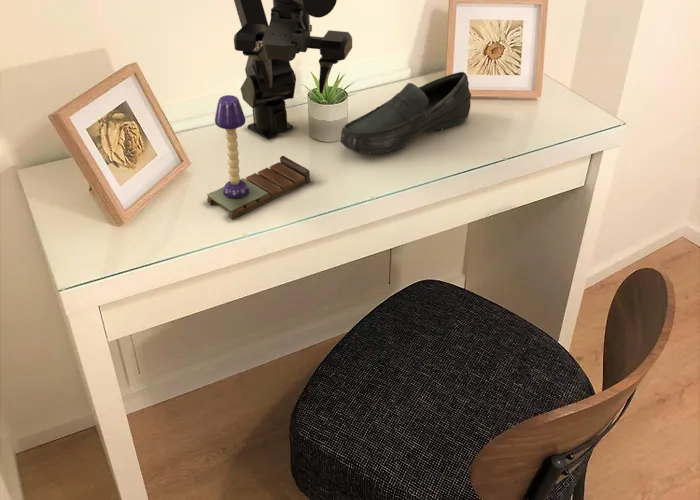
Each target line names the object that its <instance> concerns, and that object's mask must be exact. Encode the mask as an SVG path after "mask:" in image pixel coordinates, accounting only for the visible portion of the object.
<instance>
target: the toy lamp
mask: <svg viewBox="0 0 700 500" xmlns="http://www.w3.org/2000/svg"><path fill="white" fill-rule="evenodd" d="M216 105H217V106H216V111H215V117H214V124H215V125H216V127H218V128H219V129H223V130H225V132H226V133H225V139H226V148H227V154H226V155H227V157H228V158H227V164H228V174H229V175H228V178H229V179H228V180H229V181H227V182H226V183H225V184H224V186H223V187H224V188H223V187H222V188H223V194H224V195H225V196H226V197H228V198H233V199H237V198H242V197H244V196H246V195H247V194H248V193H249V188H248V186H247V184H246V183H245V182H244V181H242V180H240V179H241V177H240V167H239V165H240V159H239V150H238V147H239V144H238V140H237V139H238V134H237V129H239V128H241V127H243V126H244V125H245V123H246V116H245V113H244V111H243V107H242V105H241V103H240V100H239V98H238V97H237V96H235V95H232V94H227V95H223V96H220V97H219V99H218V100H217V104H216Z"/></svg>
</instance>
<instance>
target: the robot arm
mask: <svg viewBox="0 0 700 500" xmlns="http://www.w3.org/2000/svg"><path fill="white" fill-rule="evenodd" d="M337 1H338V0H272V5H273V6H272V8H271V9H270V20H269V21H268V19H267V15H266V11H265V8H264V6H263V1H262V0H233V3H234V5H235V9H236V12H237V16H238V20H239V22H240V27H241V28H240V29H239V30H238V31H237V32H236V33H235V34H234V36H233V46H234V47H233V48H234V50H235V51H236V52H241V53H242V55H243V56H245V57H246V56H247V61H246V64H245V68H244V71H245V75H246V78H245V79H244V81H243V83H242V84H241V86H240V93H241V97H242V100H243V101H244V102H245V103H246V104H247V105H248V106H249V107H250V108H251V109H252V118H253V122H252V123H250V124H248V125H247V129H248V130H250V131H252V132H254V133H255V134H257V135H258V136H260V137H263V138H264V139H266V140H270V139H272V138H274V137H276V136H279V135H282V134H284V133H286V132H288V131H290V130H293V129H294V125H293V124H291V123H289V122H288V113H287V112H288V111H287V108H286V100H292V99H295V98H294V97H295V89H296V84H297V75H296V74H295V73H296V72H295V71H294V69H293V68H292V65H291V63H290V62H292V61H293V60H295V58H296V55H297V54H300V53H306V52H307V51H308V49H311V50H312V49H313V50H319V55H321V57H320V58H319V60H318V64H319V81H318V89H319V94H323V93H324V91H325V89H326V85H327V82H328V79H329V77H330V75H331V71H332V69H333V66H334V65H336V64H338V63H339V61H345V60H346V58H347V57H348V55H349V54H350V52H351V51H352V50H353V36H352V35H351V33H350V32H349V31H340V30H330V29H328V30H327V32H326V33H325V34H324V36H316V35H315V36H314V35H311V33H312V32H313V24H311V17H312V18H316V19H317V18H318V19H319V18H324V17H325V16H327V15H329V14H330V13H331V12H332V11H333V10H334V8H335V6H336V4H337Z"/></svg>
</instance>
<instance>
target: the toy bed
mask: <svg viewBox="0 0 700 500" xmlns="http://www.w3.org/2000/svg"><path fill="white" fill-rule="evenodd" d="M240 180H242V181H244V182H245V183H246V184H247V186H248V188H249V193H248V194H247V195H246V196H244V197H242V198H237V199H233V198H228V197H226V196H225V195H224V194H223V188H224V186H222V187H220V188H218V189H217V190H213V191H212V192H209V193H208V194H207V197H206V201H207V204H208V205H210V206H213V205H215V204H217V205H219V206H220V207H222V208H223V209H224V210H226V211H228V212H227V213H228V218H229V219H231V220H232V221H233V220H235V219H237V218H239V217H241V216H243V215H245V214H247V213H249V212H251V211H253V210H255V209H257V208H259V207H261V206H263V205H266V204H267V203H270V202H272V201H274V200H276V199H278V198H280V197H282V196H284V195H286V194H288V193H290V192H292V191H294V190H296V189H298V188H301V187H302V186H304V185H308V184H310V183H311V173H310V169H308V168H307V167H305V166H303V165H301V164H300V163H298V162H296V161H294V160H292V159H290V158H288V157H287V156H285V155H281V156H279V161H278V162H276V163H274V164H271V165H270V166H269V167H266V168H263V169H261V170H259V171H257V172H254V173H251V174H250V175H247V176H246V177H245V178H244V177H242V178H240Z"/></svg>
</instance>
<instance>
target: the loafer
mask: <svg viewBox="0 0 700 500" xmlns="http://www.w3.org/2000/svg"><path fill="white" fill-rule="evenodd" d="M469 86H470V83H469V78H468V75H467V73H466V72H464V71H459V72H455V73H451V74H447V75H445V76H442V77H439V78H436V79H434V80H432V81H429V82H427V83H425V84H424V85H421V86H417V85H416V84H414V83H412V82H408V83H407V84H406V85H405V86H404V87H403V88H402V89H401V90H400V91H399V92H398V93H396V94H395V95H394V96H392V97H391V98H390V99H389V100H388V101H386V102H384V103H382V104H381V105H379V106H377V107H376V108H374V109H372V110H371V111H369V112H366V113H365V114H364V115H362V116H359V117H358V118H356V119H353V120H352V121H350V122H347V123H345V125H344V126H343V127H342V129H341V132H340V144H342V145H343V146H344V147H345V148H346V149H347V150H350V151H351V152H355V153H358V154H367V155H368V154H385V153H388V152H389V153H392V152H396V151H398V150H400V149H402V148H404V147H406V146H407V145H408V144H410V143H411V142H412V141H414V140H415V139H416V138H417V137H418V136H420V135H421V134H423V133H427V132H429V133H430V132H440V131H442V130H449V129H451V128H454V127H455V126H459V125H461V124H463V123H465V122H466V120H467V118H469V117H468V116H469V115H470V110H471V107H472V105H471V104H472V103H471V98H472V93H471V92H470V87H469Z"/></svg>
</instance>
